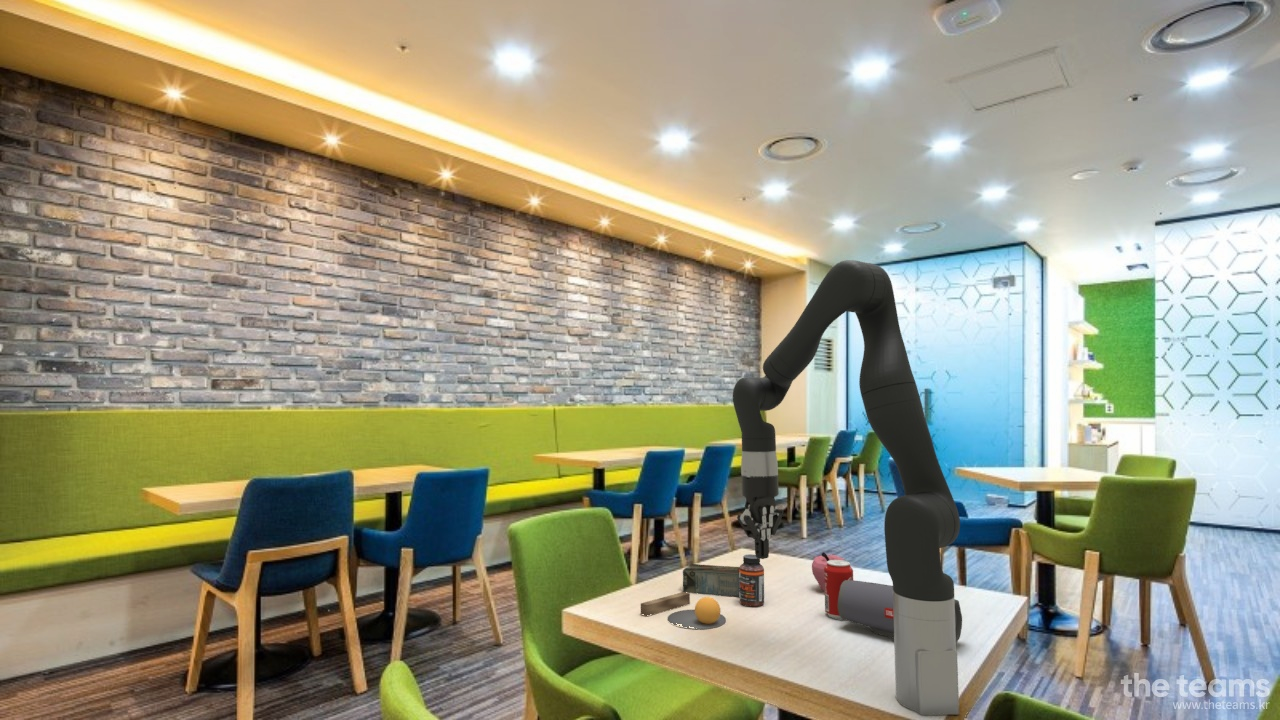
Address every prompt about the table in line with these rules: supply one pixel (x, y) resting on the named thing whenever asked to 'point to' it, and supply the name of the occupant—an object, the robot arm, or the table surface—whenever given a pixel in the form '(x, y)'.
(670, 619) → the mark
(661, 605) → the wooden bar
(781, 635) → the table surface
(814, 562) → the apple
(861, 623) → the bluetooth speaker
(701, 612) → the ball
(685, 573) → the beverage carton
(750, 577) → the supplement bottle
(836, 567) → the beverage can
